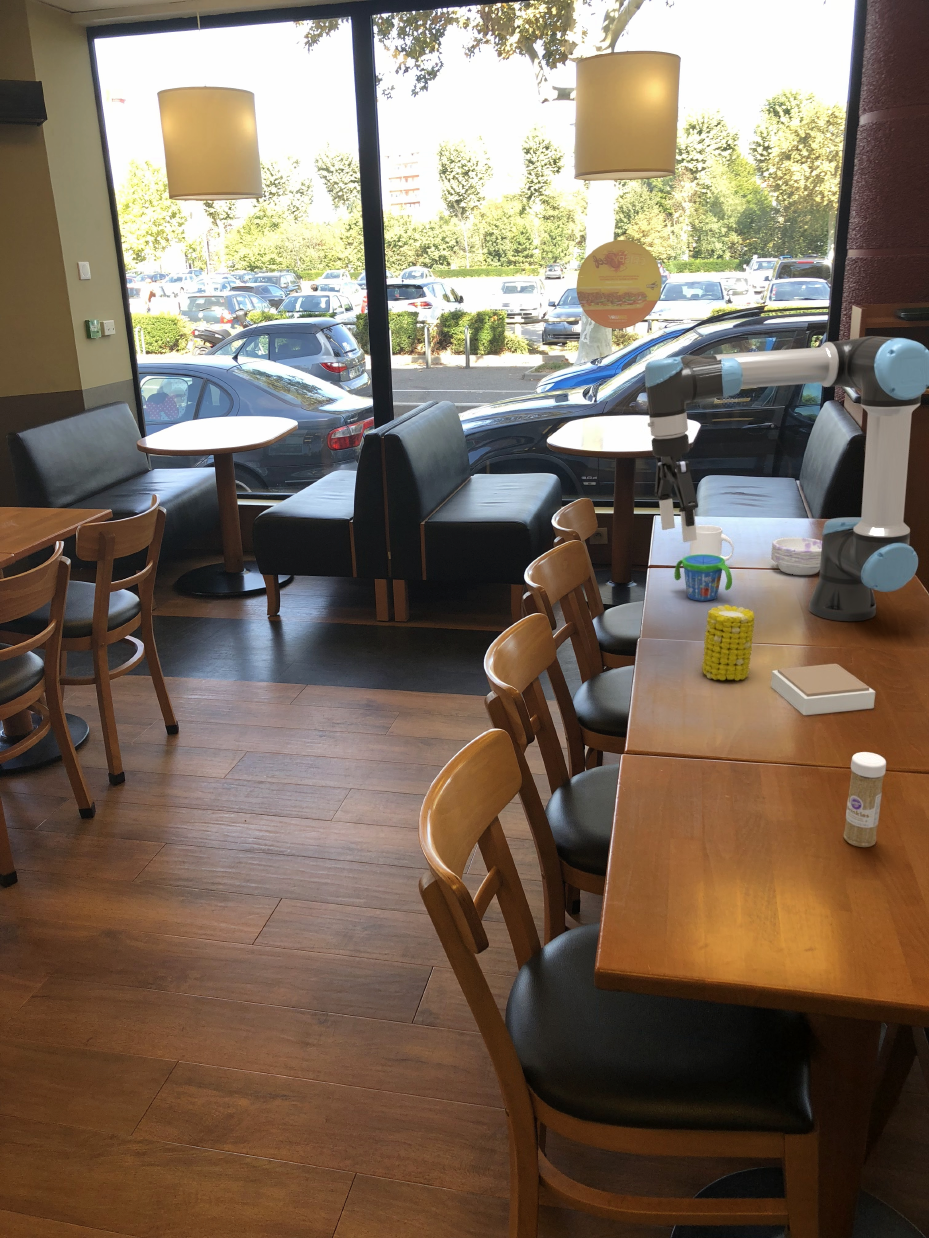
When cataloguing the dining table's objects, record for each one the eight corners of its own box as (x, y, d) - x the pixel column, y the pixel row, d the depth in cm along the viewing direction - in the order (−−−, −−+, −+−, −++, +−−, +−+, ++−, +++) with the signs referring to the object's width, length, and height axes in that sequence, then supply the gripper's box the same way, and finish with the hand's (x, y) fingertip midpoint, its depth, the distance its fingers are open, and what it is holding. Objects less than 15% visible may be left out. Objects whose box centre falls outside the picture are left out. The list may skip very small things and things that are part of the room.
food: (695, 684, 202) (721, 672, 208) (745, 686, 193) (771, 673, 200) (685, 612, 200) (712, 602, 206) (735, 611, 191) (762, 601, 198)
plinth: (836, 679, 197) (837, 661, 196) (873, 708, 184) (875, 688, 183) (770, 686, 195) (772, 668, 194) (803, 715, 182) (805, 695, 181)
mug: (729, 572, 269) (731, 534, 266) (686, 568, 274) (687, 531, 271) (735, 563, 277) (737, 527, 273) (693, 560, 282) (695, 524, 278)
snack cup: (664, 595, 252) (665, 557, 249) (690, 586, 258) (691, 549, 255) (714, 609, 241) (716, 569, 237) (739, 599, 247) (742, 561, 243)
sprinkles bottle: (838, 841, 142) (847, 759, 138) (849, 828, 145) (858, 747, 141) (870, 852, 139) (880, 768, 135) (881, 838, 143) (891, 756, 138)
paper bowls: (834, 567, 270) (836, 539, 267) (820, 581, 258) (823, 553, 255) (778, 560, 278) (780, 533, 275) (763, 574, 266) (765, 546, 263)
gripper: (634, 433, 212) (644, 527, 219) (671, 444, 189) (681, 549, 195) (667, 427, 213) (676, 521, 219) (708, 437, 189) (717, 542, 195)
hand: (678, 534), depth 207 cm, fingers open, 13 cm apart
